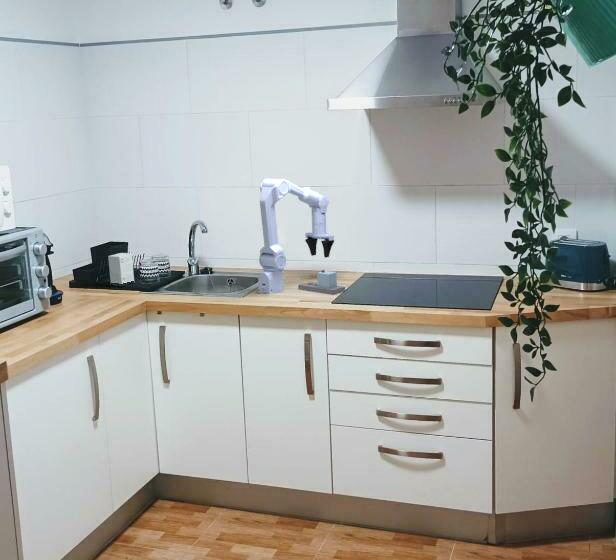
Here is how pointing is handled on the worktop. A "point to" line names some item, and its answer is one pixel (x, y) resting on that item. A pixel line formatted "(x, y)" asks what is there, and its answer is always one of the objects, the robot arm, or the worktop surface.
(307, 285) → the grey control panel
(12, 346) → the worktop surface
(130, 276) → the small box
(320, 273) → the block
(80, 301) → the worktop surface
